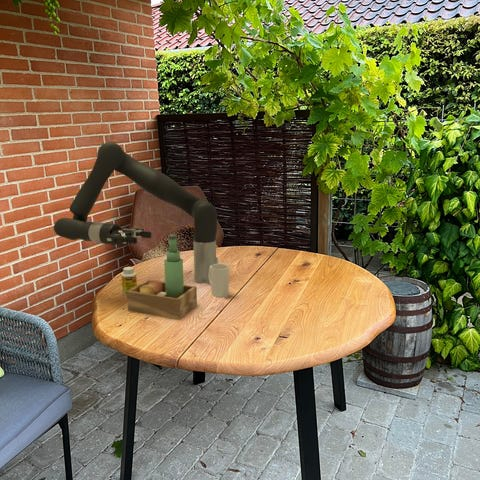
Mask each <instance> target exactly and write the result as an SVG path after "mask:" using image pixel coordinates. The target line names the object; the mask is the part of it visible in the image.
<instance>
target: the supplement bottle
mask: <svg viewBox="0 0 480 480" xmlns="http://www.w3.org/2000/svg"><path fill="white" fill-rule="evenodd" d="M120 276H121V288H122V294H123V295H124V296H127V291H129V290H131V289H132V288H134V287H136V286H138V282H137V273H136V272H135V268H134V267H133V266H125V267H123V268H122V273H121V275H120Z"/></svg>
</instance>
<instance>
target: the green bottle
mask: <svg viewBox="0 0 480 480" xmlns="http://www.w3.org/2000/svg"><path fill="white" fill-rule="evenodd" d="M167 238H168V250H167V251H166V259H164V260H163V265H164V282H165V289H166V297H172V298H178V297H180V296H181V295H182V294H184V285H185V284H184V260H183V259H182V258H181V251H180V250H178V249H177V248H178V243H177V242H178V241H177V238H178V234H176V233H170V234H168V235H167Z"/></svg>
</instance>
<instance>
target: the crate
mask: <svg viewBox="0 0 480 480" xmlns="http://www.w3.org/2000/svg"><path fill="white" fill-rule="evenodd" d="M197 291H198V289H197V286H195V285H187V284H184V294H182V295H181V296H180V297H178V298H172V297H166V289H165V281H162V280H159V279H154V280H152V279H147V280H145V281H143V282H142V283H139V284H137V286H136V287H134V288H132V289H131V290H129V291H127V295H126V297H127V298H126V299H127V311H129V312H133V313H139V314H145V315H151V316H157V317H162V318H167V319H172V320H173V319H174V320H178V321H180V320H181V319H182V318H183V317H184V316H186V315H187V314H188V313H189V312H191V310H193V309H195V307H197V306H198V296H197V295H198V294H197V293H198V292H197Z"/></svg>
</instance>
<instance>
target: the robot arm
mask: <svg viewBox="0 0 480 480" xmlns="http://www.w3.org/2000/svg"><path fill="white" fill-rule="evenodd" d="M96 154H97V157H96V160H95V162H94V165H93V167H92V169H91V171H90V173H89V174H88V176H87V178H86V180H85V181H84V182H83V184H82V185H81V187H80V188H79V190H78V191H77V193H76V195H75V196H74V197H73V200H72V202H71V204H70V206H69V211H70V212H71V213H72V214H73V216H72V218H68V217H62V218H59V219H57V220H56V221H55V222H54V224H53V231H54V234H56V235H57V236H58V237H60V238H64V239H67V240H71V241H75V240H82V241H85V242H93V243H97V244H103V245H109V246H110V245H111V246H117V245H119V246H120V245H123V244H124V245H125V244H133V245H136V244H138V238H142V239H143V238H144V239H151V238H152V232H151V231H146V230H145V229H144V228H139V227H128V228H122V227H121V226H120V225H119V224H118V223H112V222H96V221H88V216H89V214H90V213H91V211H92V209H93V208H94V206H95V203H96V202H97V200H98V198H99V196H100V195H101V193H102V190H103V188H104V186H105V185H106V183H107V181H108V180H109V178H110V177H111V175H112V174H113V172H114V171H116V172H118V173H119V174H121V175H124V176H125V177H127V178H129V179H130V180H131V181H133V183H134V184H136V185H137V186H139V187H140V188H141V189H143V190H144V191H145V192H147V193H149V194H150V195H152V196H153V197H155V198H157V199H159V200H160V201H162V202H164V203H168V204H170V205H172V206H175V207H177V208H178V209H181V210H182V211H184V212H185V213H186V214H188V215H189V216H190V217H192V218H193V223H194V227H193V228H194V230H193V231H194V232H193V234H192V235H193V236H192V239H193V270H194V271H193V273H194V274H193V275H194V277H193V278H194V281H195V282H196V283H199V284H210V282H209V276H208V273H209V268H210V266H211V265H213V264H219V258H218V257H217V239H216V237H217V233H218V213H217V210H216V208H215V206H214V205H213V204H212V203H210V201H209V202H208V201H207V200H205V199H202V198H200V197H198V196H196V195H194V194H192V193H191V192H189V191H187V190H186V189H184V187H182V186H181V185H180V184H179V183H178V182H176V181H175V180H174V179H172V178H171V177H169V176H167V175H166V174H165V173H162V172H161V171H159V170H157V169H156V168H153V167H151V166H150V165H147V164H145V163H142V162H140V161H138V160H137V159H135V158H134V157H132V156H131V155H129V153H127V152H125V151H124V150H123V148H122V147H121V145H120V144H119V143H116V142H114V141H113V142H112V141H109V142H108V141H107V142H104V143H103V144H101V145H100V146H99V148H98V151H97V153H96Z"/></svg>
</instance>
